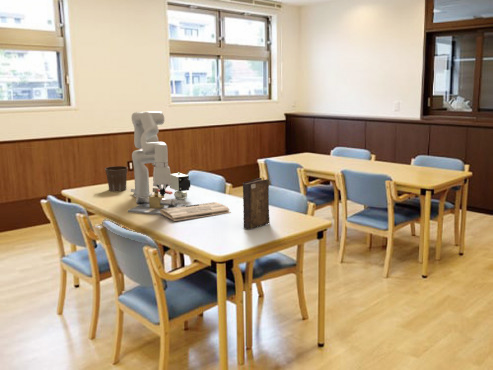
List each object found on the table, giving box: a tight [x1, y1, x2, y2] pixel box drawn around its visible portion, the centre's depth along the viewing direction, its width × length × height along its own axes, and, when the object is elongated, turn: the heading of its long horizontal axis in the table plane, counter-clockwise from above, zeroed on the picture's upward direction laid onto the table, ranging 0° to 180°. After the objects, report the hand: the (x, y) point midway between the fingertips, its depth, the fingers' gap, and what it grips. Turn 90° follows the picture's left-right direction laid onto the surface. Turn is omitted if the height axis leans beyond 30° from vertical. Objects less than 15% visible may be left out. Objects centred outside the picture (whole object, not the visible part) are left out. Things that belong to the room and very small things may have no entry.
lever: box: [152, 187, 174, 195], centre depth 290 cm, size 16×4×2 cm, turn 48°
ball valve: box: [169, 171, 191, 200], centre depth 321 cm, size 18×8×18 cm, turn 36°
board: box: [127, 203, 186, 216], centre depth 295 cm, size 26×25×1 cm
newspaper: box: [160, 201, 231, 222], centre depth 284 cm, size 37×19×3 cm, turn 124°
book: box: [242, 177, 270, 230], centre depth 257 cm, size 17×7×25 cm, turn 133°
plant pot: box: [104, 165, 129, 192], centre depth 350 cm, size 16×16×16 cm
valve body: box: [135, 192, 179, 209], centre depth 295 cm, size 25×6×9 cm, turn 71°
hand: (162, 195), depth 285 cm, fingers closed
